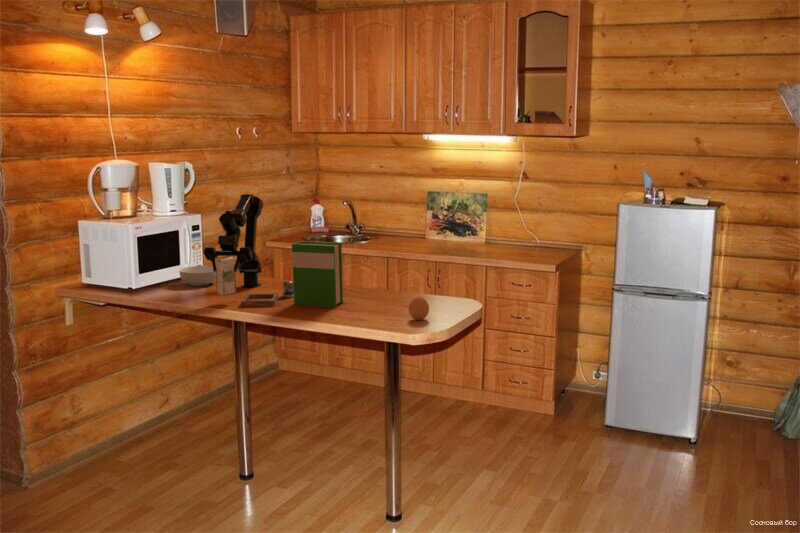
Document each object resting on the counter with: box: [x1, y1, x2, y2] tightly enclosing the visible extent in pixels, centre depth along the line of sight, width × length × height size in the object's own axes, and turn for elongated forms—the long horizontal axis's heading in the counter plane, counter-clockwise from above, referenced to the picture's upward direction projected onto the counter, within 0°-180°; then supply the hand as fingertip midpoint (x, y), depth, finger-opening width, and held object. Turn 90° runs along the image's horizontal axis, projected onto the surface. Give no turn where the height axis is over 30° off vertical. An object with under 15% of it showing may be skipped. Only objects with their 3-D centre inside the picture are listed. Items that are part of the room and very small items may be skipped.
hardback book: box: [291, 240, 344, 308], centre depth 304 cm, size 18×7×24 cm, turn 71°
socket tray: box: [240, 293, 279, 308], centre depth 309 cm, size 13×13×2 cm
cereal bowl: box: [179, 265, 216, 287], centre depth 345 cm, size 17×17×7 cm
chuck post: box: [281, 280, 294, 299], centre depth 319 cm, size 6×6×6 cm
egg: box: [408, 295, 430, 321], centre depth 279 cm, size 7×7×8 cm
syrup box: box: [215, 256, 237, 296], centre depth 306 cm, size 6×6×14 cm
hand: (224, 271), depth 305 cm, fingers closed on syrup box, 8 cm apart
